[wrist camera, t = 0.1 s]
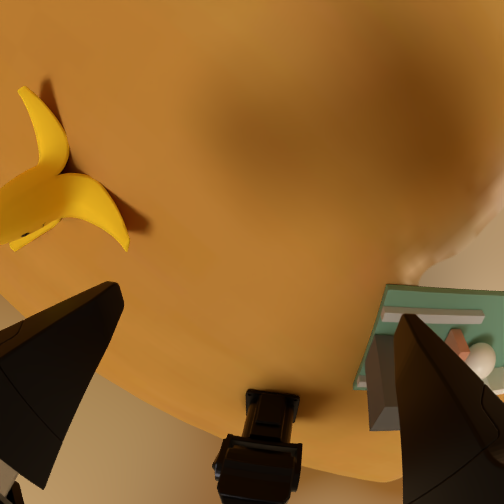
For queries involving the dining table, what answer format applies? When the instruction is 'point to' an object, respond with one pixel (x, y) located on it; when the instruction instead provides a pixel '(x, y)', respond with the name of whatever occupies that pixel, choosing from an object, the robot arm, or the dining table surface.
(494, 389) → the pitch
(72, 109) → the dining table surface
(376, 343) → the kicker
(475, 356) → the ball
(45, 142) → the banana peel
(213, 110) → the dining table surface
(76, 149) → the dining table surface
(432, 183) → the dining table surface
